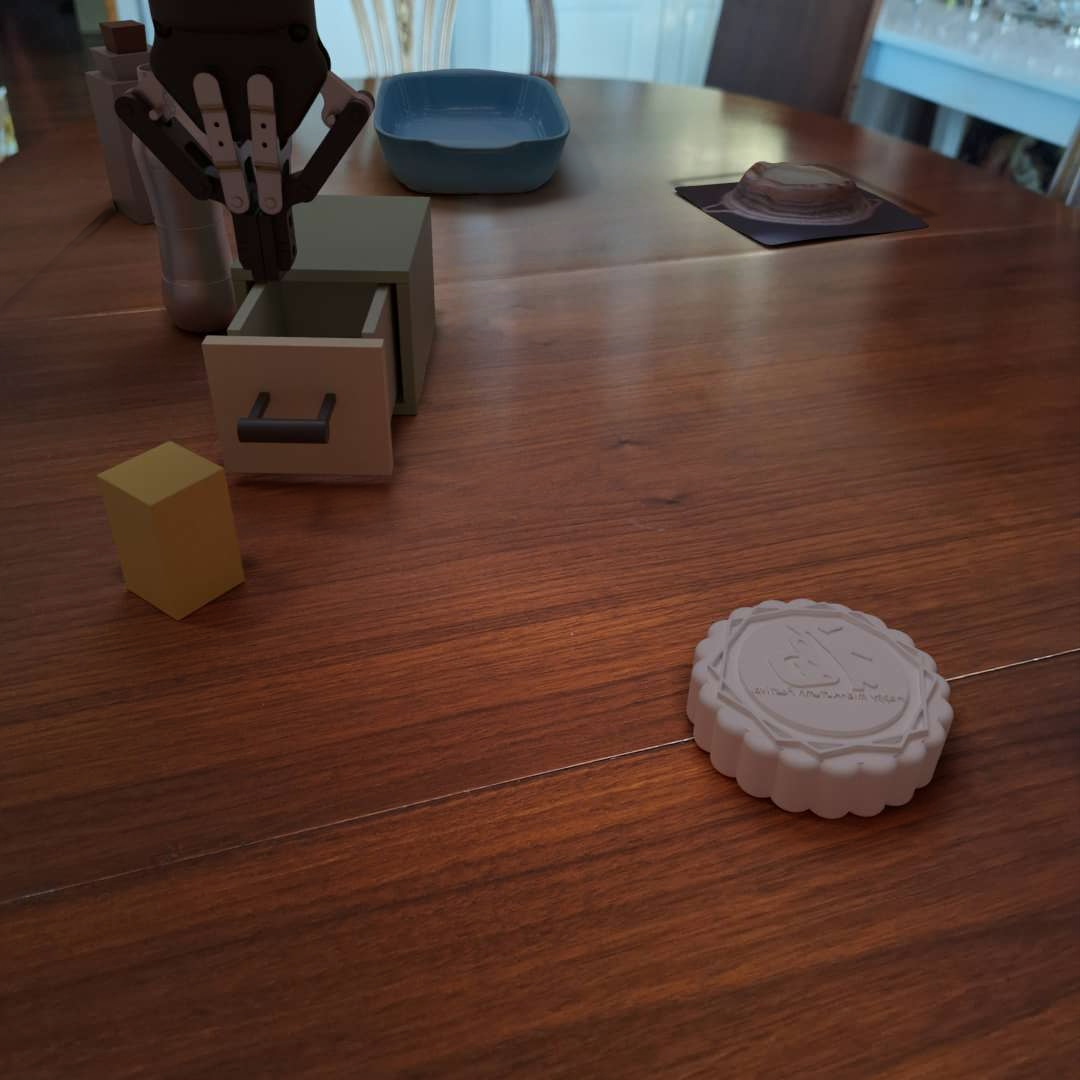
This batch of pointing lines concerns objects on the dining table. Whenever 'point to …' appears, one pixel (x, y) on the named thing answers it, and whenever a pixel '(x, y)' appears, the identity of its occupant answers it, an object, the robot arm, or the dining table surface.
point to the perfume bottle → (105, 88)
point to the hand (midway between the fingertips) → (270, 275)
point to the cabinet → (370, 266)
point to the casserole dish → (470, 130)
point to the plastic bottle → (188, 241)
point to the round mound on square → (798, 205)
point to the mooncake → (818, 707)
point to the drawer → (307, 379)
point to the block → (173, 528)
